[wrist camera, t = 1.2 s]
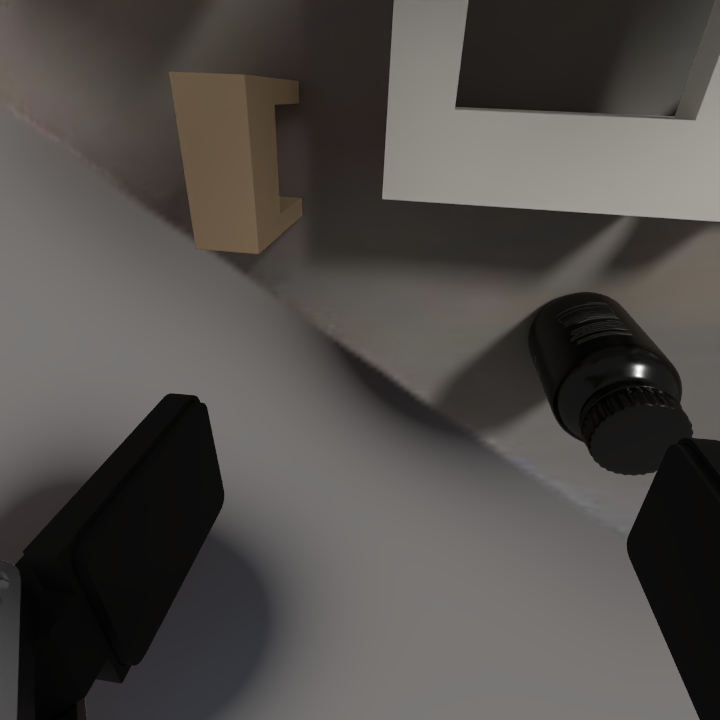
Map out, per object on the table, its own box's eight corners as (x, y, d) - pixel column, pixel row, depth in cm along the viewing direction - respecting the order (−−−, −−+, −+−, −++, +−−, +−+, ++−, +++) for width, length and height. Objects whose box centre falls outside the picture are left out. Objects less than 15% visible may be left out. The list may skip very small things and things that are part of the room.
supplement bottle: (510, 357, 34) (541, 467, 24) (554, 276, 31) (613, 365, 21) (595, 384, 35) (661, 505, 24) (648, 307, 31) (752, 410, 21)
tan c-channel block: (243, 78, 28) (168, 71, 20) (298, 80, 27) (244, 74, 20) (254, 212, 32) (195, 248, 24) (302, 215, 31) (258, 254, 24)
